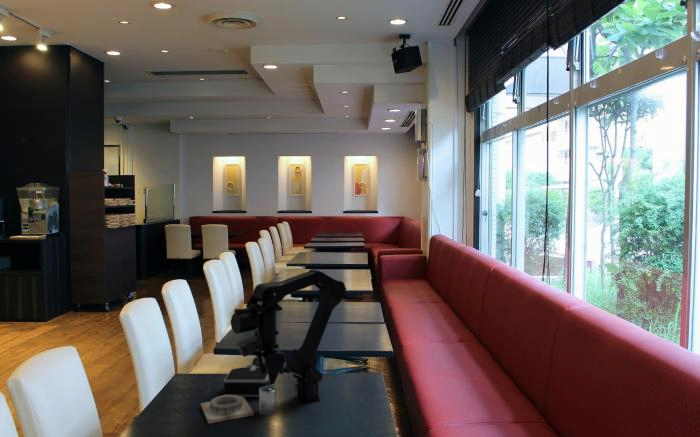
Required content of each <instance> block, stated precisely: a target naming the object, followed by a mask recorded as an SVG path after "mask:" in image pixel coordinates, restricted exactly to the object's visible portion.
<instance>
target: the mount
mask: <svg viewBox="0 0 700 437" xmlns="http://www.w3.org/2000/svg"><path fill="white" fill-rule="evenodd" d="M200 408H201V410H202V412H203V414H204V417H205V419H206V422H207V424H213V423H215V424H216V423H219V422H224V421H230V420H234V419H235V420H236V419H241V418H246V417H251V416H254V414H255V413H254V410H253V409H252V407H251V406H250V404H249V403H248V401H247V400H246V398H245V397H243V396H238V395H225V394H223V395H217V396H216V397H213V398H212V399H211V400H210V401H205V402H201V403H200Z"/></svg>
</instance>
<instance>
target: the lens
mask: <svg viewBox="0 0 700 437" xmlns="http://www.w3.org/2000/svg"><path fill="white" fill-rule="evenodd" d="M258 399H259V401H258V403H259V405H258V406H259V407H258V408H259V410H258V412H259V414H260V415H262V416H267V417H268V416H272V415H275V414H276V413H277V387H276V386H274V385H272V386H263V387H261V388H259V397H258Z"/></svg>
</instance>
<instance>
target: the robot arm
mask: <svg viewBox="0 0 700 437" xmlns="http://www.w3.org/2000/svg"><path fill="white" fill-rule="evenodd" d="M311 286H314V287H316V288H317V289H318V295H317V299H318V305H317V307H316V310H315V313H314V315H313V317H312V320H311V323H310V325H309V327H308V330H307V333H306V335H305V338H304V340H303V343H302V344H301V346H300V347H299V348H298V349H295V348H293V350H292V353H291V356H290V358H289V359H288V369H289V371H290V373H291V374H292V376H293V378H294V379H296V380H295V381H296V383H295V384H294V398H296V400H297V401H298V402H299V403H300V404H307V403H311V402H312V403H313V402H318V401H320V400H321V397H319V382H320V383H321V382H322V379H323V373H322V372H320V371H319V370H318V369H317V364H318V354H317V352H318V349H319V346H320V344H321V342H322V338H323V336H324V334H325V330H326V328H327V325H328V323H329V320H330V318H331V316H332V313H333V310H334V309H335V308H336V307H337V306H338V305H339V304H340V303H341V302H342V300H343V298H344V296H345V295H346V292H347V287H346V285H345V283H344V282H343V281H342V280H338V279H337V280H336V279H335V278H333V277H331V276H329V275H327V274H326V273H324V272H323V271H322V270H318V269H310V270H307V271H305V272H304V273H303V272H302V273H301V274H296V275H294V276H291V277H289V278H286V279H284V280H281V281H275V282H274V281H273V282H272V281H271V282H262V283H259V284H257V285H256V286H255V287H254V289H253V292H252V295H251V297H250V298H249V300H248V302H246V304H245V307H243V308H234V311H233V314H232V315H231V319H230V327H231V329H232V331H233V333H235V334H236V335H237V334H242V333H246V332H251V331H253V334H254V335H251V336H249V337H246V338H245V339H242V340H241V341H239V342H237V344H236V345H237V347H238V350H239V352H240V354H241V356H242V357H244V358H245V357H247V356H249V355H250V354H252V353H253V354H254V355H255V357H257V359H258V362H259V366H260V370H261V373H262V374H265V373H266V370H268V376H269V381H270V384H273V385H274V384H275V383H276V380H277V378H278V376H279V374H280V371H281V370H282V367H284V365H285V364H286V363H287V355H286V354H285V353H284V352H283V351H282V350H280V349H279V348H280V346H279V344H278V343H277V342H278V340H277V337H278V335H279V334H280V333H279V330H278V329H277V312H280V311H283V310H284V309H283V307H282V306H281V305H279V303H280V302H282V301H283V300H284V299H285V297H287V296H288V295H290V294H293V293H296V292H299V291H301V290H304V289H306V288H309V287H311Z"/></svg>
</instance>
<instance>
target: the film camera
mask: <svg viewBox="0 0 700 437" xmlns="http://www.w3.org/2000/svg"><path fill="white" fill-rule="evenodd" d="M263 386H274V384H270V381H269V376H268V370H266V373H265V374H262V373H261V370H260V366H259V362H258V359H257V356H255V357H254V359H253V360H252V364H248V365H246V366H245V367H236V368H232V369H230V371H229V372H228V374H227V375H226V376H225V378H224V379H223V388H224V395H238V396H243V397H244V398H245V397H247V398H248V397H249V398H251V397H252V398H253V397H255V398H259V388H261V387H263Z"/></svg>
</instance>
